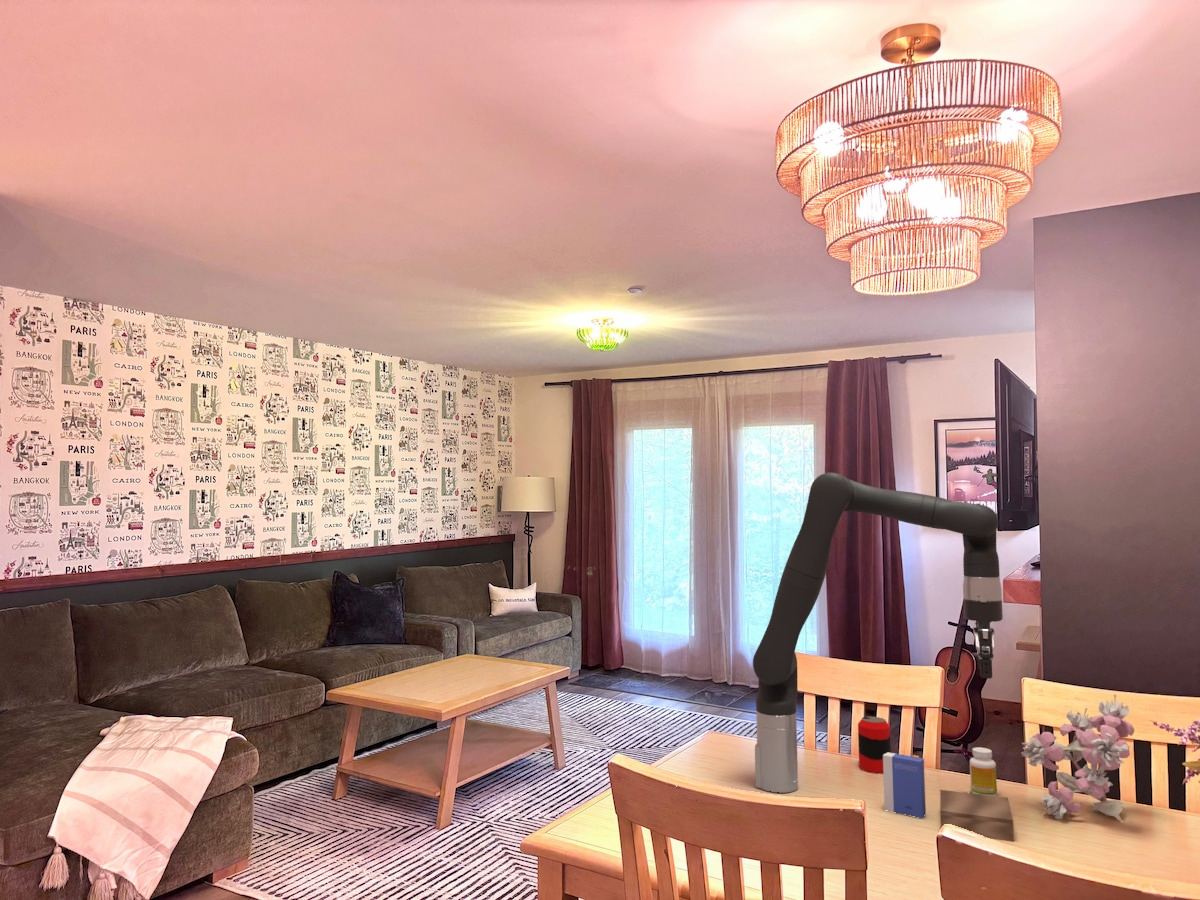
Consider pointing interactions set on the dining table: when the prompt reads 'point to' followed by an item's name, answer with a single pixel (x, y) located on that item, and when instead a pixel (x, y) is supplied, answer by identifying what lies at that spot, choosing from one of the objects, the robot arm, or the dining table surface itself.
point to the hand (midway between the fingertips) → (985, 674)
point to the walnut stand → (977, 813)
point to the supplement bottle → (983, 772)
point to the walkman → (904, 784)
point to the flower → (1092, 751)
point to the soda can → (873, 743)
